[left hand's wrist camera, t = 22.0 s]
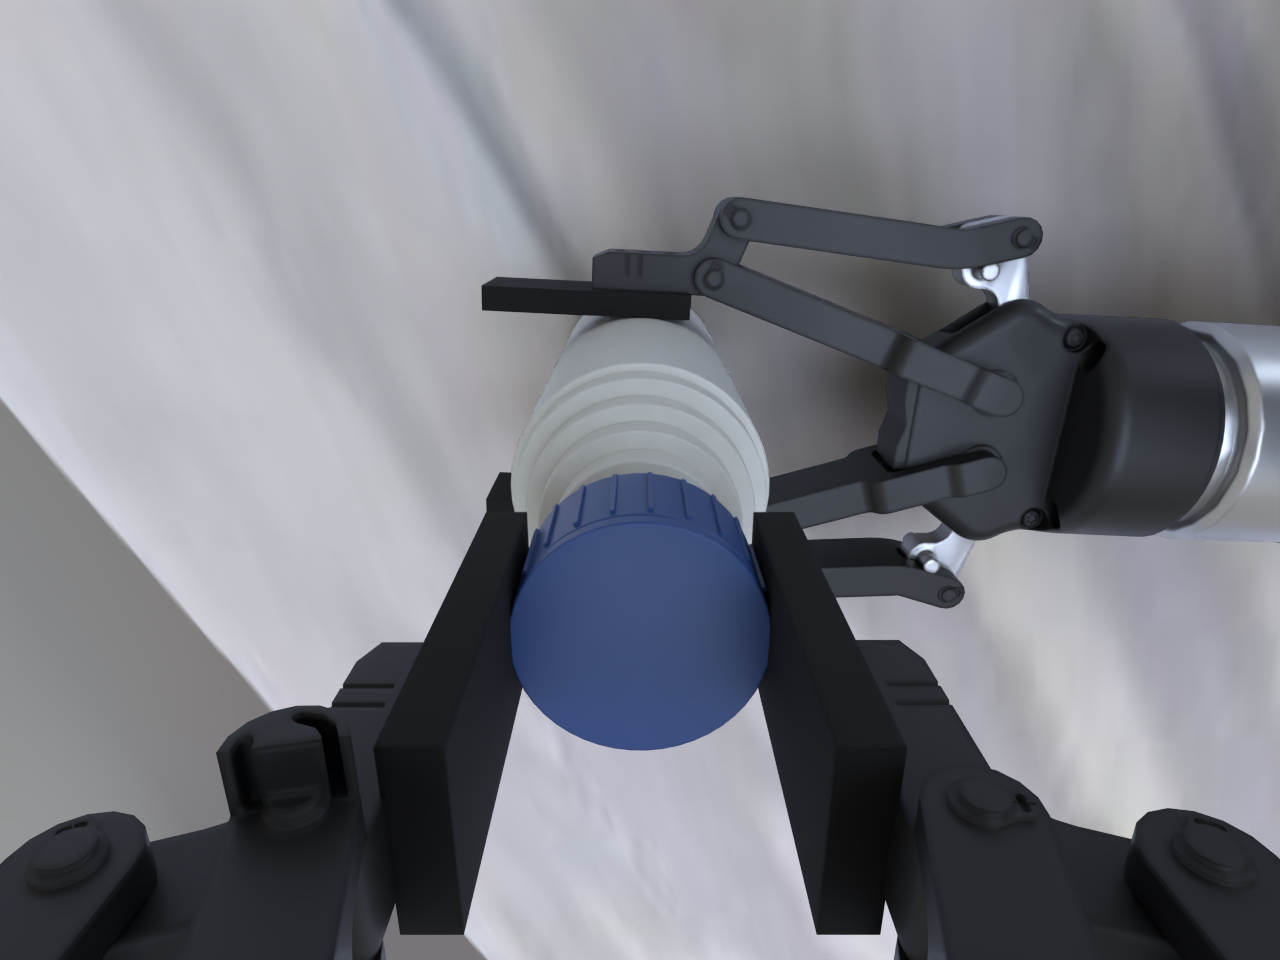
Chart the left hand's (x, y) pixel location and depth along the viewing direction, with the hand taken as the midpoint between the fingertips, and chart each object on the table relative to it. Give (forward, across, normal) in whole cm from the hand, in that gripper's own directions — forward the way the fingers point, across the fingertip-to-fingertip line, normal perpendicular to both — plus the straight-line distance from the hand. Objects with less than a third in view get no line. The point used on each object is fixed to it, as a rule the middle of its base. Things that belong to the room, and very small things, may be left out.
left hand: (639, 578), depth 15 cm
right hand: (+13, -5, 0) cm, 14 cm away
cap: (-2, 0, 0) cm, 2 cm away
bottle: (+19, 0, 0) cm, 19 cm away
